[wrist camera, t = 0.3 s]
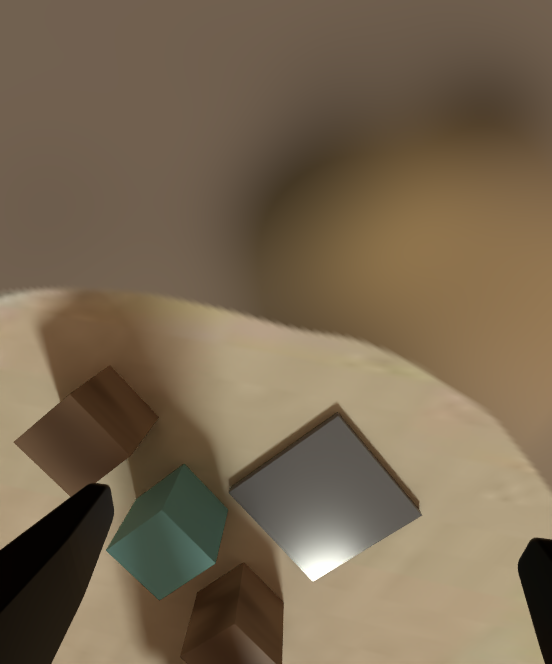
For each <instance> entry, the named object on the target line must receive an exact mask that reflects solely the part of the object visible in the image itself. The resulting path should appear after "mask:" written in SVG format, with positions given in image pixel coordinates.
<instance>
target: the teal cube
mask: <svg viewBox="0 0 552 664" xmlns="http://www.w3.org/2000/svg"><path fill="white" fill-rule="evenodd" d="M227 513H228V509H227V508H226V507H225V506H224V505H223V504H222V503H221V502H220V501H219V500H218V498H217V497H216V496H215V495H214V494H213V493H212V492H211V491H210V490H209V489H208V488H207V487H206V486H205V485H204V484H203V483H202V482H201V481H200V480H199V479H198V478H197V477H196V476H195V475H194V473H193V472H192V471H191V470H190V469H189V468H188V467H187V466H186V465H185V464H183V465H182V466H180V467H179V468H178V469H176V470H175V471H173V472H172V473H171V474H169V475H168V476H167V477H165V478H164V479H163V480H161V481H160V482H159V483H157V484H156V485H155V486H153V487H152V488H151V489H149V490H148V491H147V492H145V493H144V494H142V495H141V496H140V497H138V498H137V499H136V501H135V502H134V504H133V506H132V507H131V509H130V511H129V512H128V514H127V516H126V517H125V519H124V521H123V523H122V524H121V526H120V528H119V529H118V531H117V533H116V534H115V536H114V538H113V539H112V541H111V543H110V544H109V546H108V548H107V550H106V551H107V552H108V553H109V554H110V555H111V556H112V557H113V558H114V559H116V560H117V561H118V562H119V563H120V564H121V565H122V566H123V567H124V568H125V569H126V570H127V571H128V572H129V573H130V574H132V575H133V576H134V577H135V578H136V579H137V580H138V581H139V582H140V583H141V584H142V585H143V586H144V587H145V588H146V589H148V590H149V591H150V592H151V593H152V594H153V595H154V596H155V597H156V598H157V599H158V600H161V599H163V598H164V597H166V596H167V595H169V594H170V593H172V592H173V591H175V590H176V589H178V588H179V587H181V586H182V585H184V584H185V583H187V582H188V581H190V580H191V579H193V578H194V577H196V576H197V575H199V574H200V573H202V572H203V571H205V570H206V569H208V568H209V567H211V566H212V565H214V564H216V559H217V555H218V551H219V547H220V543H221V538H222V534H223V530H224V526H225V521H226V517H227Z"/></svg>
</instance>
